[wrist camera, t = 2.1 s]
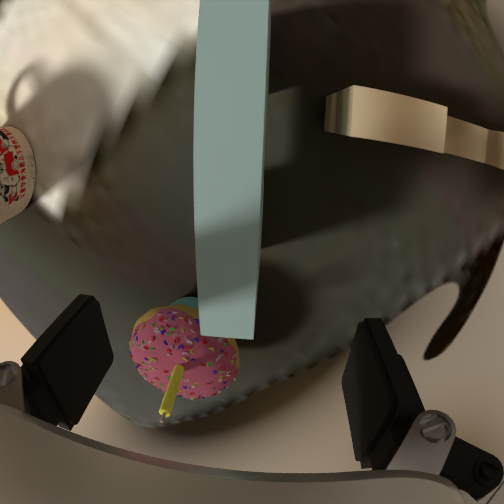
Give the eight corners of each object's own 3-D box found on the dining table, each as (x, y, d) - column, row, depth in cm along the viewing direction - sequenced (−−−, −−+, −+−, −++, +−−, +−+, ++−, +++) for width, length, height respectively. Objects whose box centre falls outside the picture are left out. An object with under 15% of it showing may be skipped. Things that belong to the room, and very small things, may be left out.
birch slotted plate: (324, 131, 19) (350, 136, 12) (326, 96, 18) (353, 85, 11) (500, 167, 18) (556, 189, 12) (503, 140, 17) (561, 156, 11)
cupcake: (158, 262, 23) (87, 369, 13) (259, 297, 24) (249, 425, 13) (144, 337, 27) (95, 439, 16) (228, 366, 28) (210, 477, 17)
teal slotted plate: (234, 26, 16) (204, -43, 7) (270, 26, 16) (270, -45, 7) (228, 247, 23) (200, 335, 13) (260, 249, 22) (253, 339, 13)
